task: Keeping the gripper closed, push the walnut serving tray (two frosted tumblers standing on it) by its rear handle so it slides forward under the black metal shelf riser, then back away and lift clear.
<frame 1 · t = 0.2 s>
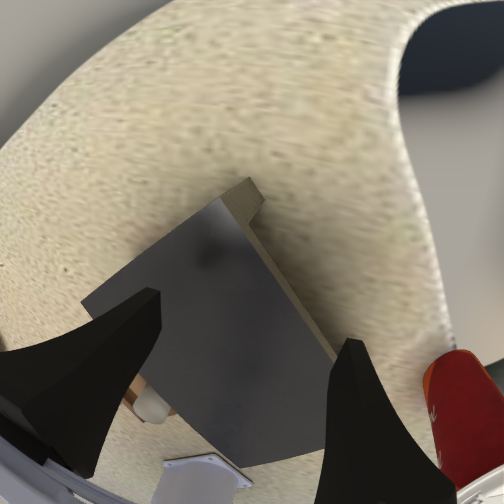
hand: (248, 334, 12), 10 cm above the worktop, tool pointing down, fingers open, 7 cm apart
riser: (253, 314, 24), on the worktop
paper cup: (450, 372, 23), on the worktop
tray: (144, 366, 28), on the worktop
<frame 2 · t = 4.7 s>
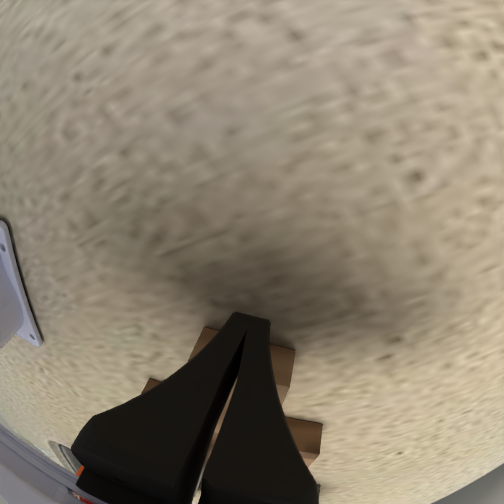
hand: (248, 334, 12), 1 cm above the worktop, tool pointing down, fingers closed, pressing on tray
tray: (226, 438, 18), on the worktop, touching gripper
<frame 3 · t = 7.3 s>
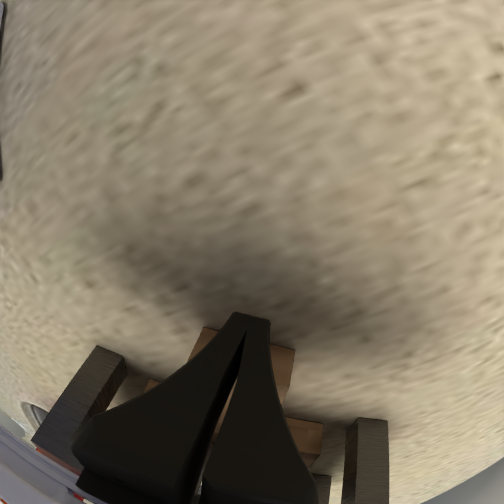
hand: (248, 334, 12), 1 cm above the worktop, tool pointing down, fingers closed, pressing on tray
riser: (227, 436, 18), on the worktop
tray: (227, 438, 18), on the worktop, touching gripper
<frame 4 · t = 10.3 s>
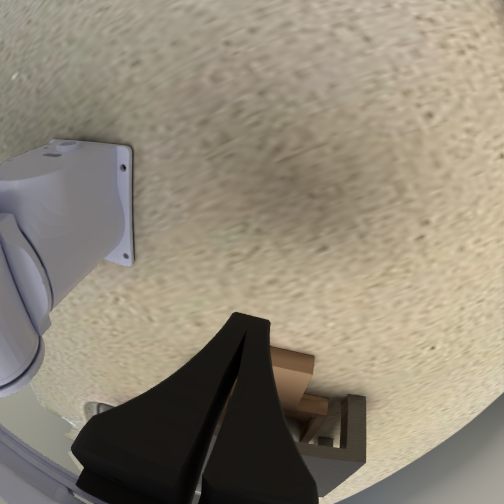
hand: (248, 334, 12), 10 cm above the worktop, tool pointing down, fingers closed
riser: (269, 410, 30), on the worktop
tray: (268, 411, 31), on the worktop
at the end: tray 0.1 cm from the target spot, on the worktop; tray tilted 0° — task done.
